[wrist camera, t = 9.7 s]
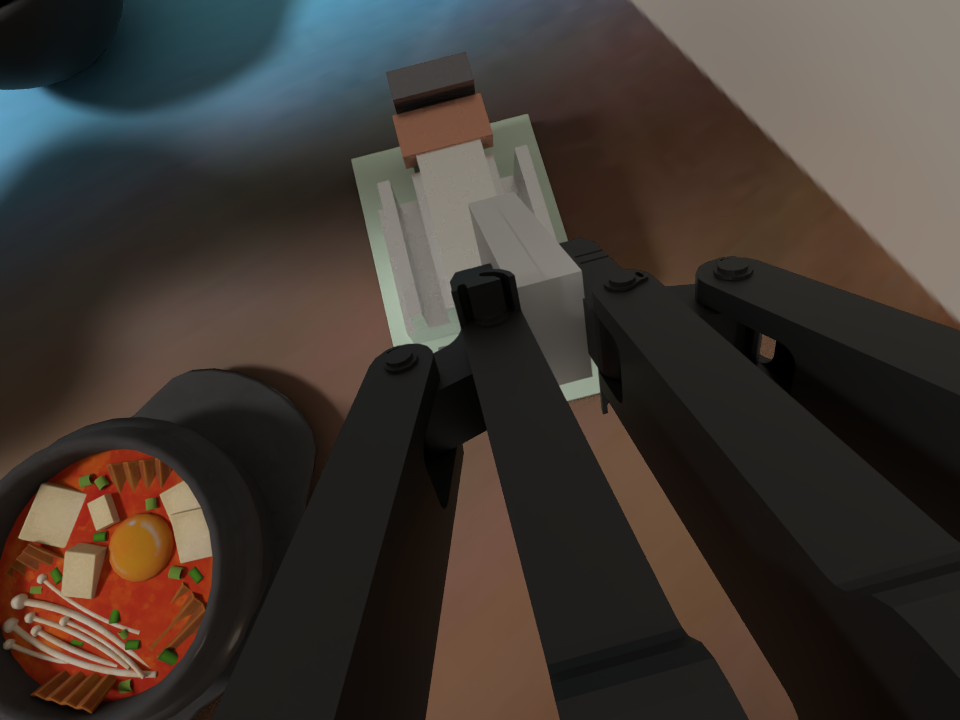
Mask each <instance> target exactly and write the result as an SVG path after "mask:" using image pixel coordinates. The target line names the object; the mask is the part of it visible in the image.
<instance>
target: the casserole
mask: <svg viewBox="0 0 960 720" xmlns="http://www.w3.org/2000/svg"><path fill="white" fill-rule="evenodd" d="M315 456H316V444H315V440H314V436H313V432H312V428H311V426H310V425H309V423H308V422H307V420H306V419H305V417H304V416H303V414H302V413H301V411H300V410H299V409H298V408H297V407H296V406H295V405H294V404H293V403H292V402H291V401H290V400H289V399H288V398H287V397H286V396H285V395H284V394H282V393H281V392H279V391H278V390H276V389H274V388H273V387H271V386H270V385H268V384H266V383H265V382H263V381H262V380H259V379H256V378H254V377H251V376H248V375H245V374H242V373H239V372H235V371H228V370H221V369H214V368H213V369H200V370H191V371H189V372H187V373H184V374H182V375H180V376H177V377H175V378H173V379H172V380H171V381H169V382H168V383H167V384H166V385H165V386H164V387H163V388H162V389H161V390H160V391H159V392H157V393H156V394H155V395H154V396H153V397H152V398H151V399H150V400H149V401H148V402H147V403H146V404H145V405H144V406H143V407H142V408H141V409H140V410H139V411H138V412H137V413H136V414H135V415H134V416H133V417H131V418H117V419H111V420H107V421H103V422H99V423H95V424H92V425H88V426H85V427H83V428H81V429H79V430H77V431H75V432H72V433H70V434H68V435H66V436H64V437H62V438H60V439H59V440H57V441H56V442H54V443H53V444H51V445H50V446H49V447H47V448H45V449H43V450H41V451H39V452H37V453H35V454H33V455H32V456H30V457H29V458H27V459H26V460H25V461H23V462H22V463H20V464H19V465H17V466H16V467H15V468H13V469H12V470H11V471H10V472H9V473H8V474H7V475H6V476H5V477H4V478H3V479H2V480H1V481H0V720H193V719H194V718H195V717H196V716H197V715H198V714H199V713H200V712H201V711H202V710H203V709H204V708H205V707H207V706H208V705H209V704H211V703H212V702H213V701H215V700H216V699H217V698H219V697H220V696H221V695H223V693H224V691H225V689H226V686H227V684H228V682H229V680H230V677H231V675H232V673H233V671H234V668H235V666H236V664H237V662H238V660H239V657H240V655H241V653H242V651H243V648H244V646H245V644H246V642H247V639H248V637H249V635H250V633H251V630H252V628H253V626H254V624H255V621H256V619H257V617H258V615H259V613H260V610H261V608H262V606H263V604H264V601H265V599H266V597H267V595H268V592H269V590H270V588H271V586H272V583H273V581H274V579H275V577H276V575H277V572H278V570H279V568H280V566H281V563H282V561H283V559H284V557H285V554H286V552H287V550H288V548H289V545H290V543H291V541H292V539H293V536H294V534H295V532H296V530H297V528H298V525H299V523H300V521H301V519H302V516H303V514H304V512H305V510H306V507H307V501H308V496H309V491H310V486H311V481H312V476H313V470H314V463H315Z"/></svg>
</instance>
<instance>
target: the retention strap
mask: <svg viewBox="0 0 960 720" xmlns="http://www.w3.org/2000/svg"><path fill="white" fill-rule="evenodd" d="M392 117H393V121H394V125H395V129H396V133H397V137H398V141H399V145H400V149H401V153H402V157H403V160H404V163H405V166H406V169H409V168H413V167H417V166H419V169H420V173H421V177H422V181H423V185H424V189H425V193H426V196H427V200H428V204H429V208H430V212H431V216H432V220H433V224H434V227H435V231H436V235H437V239H438V243H439V247H440V251H441V255H442V258H443V262H444V266H445V270H446V274H447V278H448V282H449V286H450V289H451V285H450V281H451V279H452V277H453V275H454V274H455V272H458V271H462V270H466V269H470V268H474V267H477V266H481V265H482V264H481V260H480V255H479V251H478V246H477V242H476V237H475V233H474V229H473V224H472V220H471V215H470V211H469V206H468V203H472V202H476V201H480V200H484V199H487V198H491V197H495V196H497V194H496V190H495V187H494V184H493V180H492V177H491V174H490V170H489V167H488V163H487V160H486V157H485V153H484V150H483V149H487V148H491V147H493V133H492V129H491V126H490V123H489V119H488V116H487V113H486V109H485V106H484V103H483V100H482V96H481V93H478V94H474V95H471V96H467V97H463V98H459V99H455V100H451V101H447V102H443V103H439V104H436V105H432V106H428V107H424V108H420V109H416V110H412V111H408V112H404V113H401V114H397V115H393V116H392ZM451 290H452V289H451ZM456 313H457V312H456ZM457 317H458V316H457ZM459 324H460V323H459ZM460 328H461V327H460Z"/></svg>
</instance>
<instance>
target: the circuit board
mask: <svg viewBox="0 0 960 720" xmlns="http://www.w3.org/2000/svg"><path fill="white" fill-rule="evenodd" d="M490 126H491V129H492V133H493V147H491V148H487V149H483V150H484V153H485V155H488V154H492V153H493V157H494V160H495V164H496V167H497V170H498V174H499V177H500V178H504V177H508V176H512V175H513V167H514V148H515V147H519V146H523V145H527V147H528V150H529V153H530V156H531V160H532V163H533V166H534V169H535V172H536V176H537V179H538V182H539V185H540V188H541V192H542V195H543V198H544V201H545V204H546V208H547V211H548V214H549V217H550V220H551V224H552V227H553V230H554V233H555V236H556V240H557V242H558V244H559V243H562V242H566V241H568V239H567V236H566V233H565V230H564V227H563V223H562V220H561V217H560V214H559V211H558V208H557V204H556V201H555V198H554V195H553V192H552V189H551V186H550V182H549V179H548V176H547V173H546V170H545V167H544V164H543V160H542V157H541V154H540V151H539V148H538V145H537V141H536V138H535V135H534V132H533V129H532V126H531V123H530V119H529V116H528V114H525V115H521V116H517V117H513V118H509V119H505V120H501V121H498V122H494V123H490ZM351 161H352V166H353V170H354V174H355V179H356V183H357V188H358V192H359V196H360V201H361V205H362V210H363V214H364V218H365V223H366V227H367V231H368V236H369V240H370V245H371V249H372V253H373V258H374V262H375V267H376V271H377V275H378V280H379V284H380V289H381V293H382V297H383V302H384V306H385V311H386V315H387V319H388V324H389V328H390V333H391V337H392V341H393V346H394V347H395V346H398V345H404V344H414V343H413V341H412V340H411V339H410V337H409V336H408V335H407V332H406V328H405V323H404V319H403V315H402V311H401V306H400V302H399V298H398V294H397V289H396V285H395V281H394V276H393V272H392V268H391V264H390V259H389V255H388V251H387V247H386V242H385V238H384V234H383V230H382V225H381V221H380V217H379V213H378V210H380V209H383V207H382V203H381V199H380V194H379V190H378V186H377V183H380V182H384V181H387V180H390V183H391V185H392V188H393V190H394V193H395V195H396V198H397V200H398V203H399V205H400V204H404V203H407V202H411V201H415V200H418V199H417V195H416V191H415V187H414V183H413V179H412V175H411V174H415V171H414V167H413V168H409V169H406V166H405V163H404V160H403V157H402V153H401V149H400V147H397V148H393V149H389V150H385V151H381V152H377V153H373V154H369V155H366V156H362V157H358V158H354V159H351ZM458 335H459V333H458V334H455V335H451V336H447V337H443V338H439V339H435V340H432V341H428V342H424V343H420V344H422V345H426V346H428V347H429V348H430V349H431V350H432V351H433V353H435V352H437V351H439V350H438V348H439V347H442V346H446V345H449V344H450V343H452V342H453V341H454V340H455V339H456V338H457V336H458ZM591 365H592V375H593V377H589V378H585V379H581V380H578V381H574V382H570V383H567V384H563V385H559V386H560V388H561V390H562V392H563V394H564V396H565V398H566V400H567V402H570V401H574V400H578V399H581V398H585V397H589V396H593V395H597V394H600V386H599V376H598V367H597V366H596V364H595V363H594V361H593V360H592V358H591Z"/></svg>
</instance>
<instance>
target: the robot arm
mask: <svg viewBox="0 0 960 720" xmlns="http://www.w3.org/2000/svg"><path fill="white" fill-rule="evenodd" d="M468 206H469V211H470V215H471V220H472V224H473V229H474V233H475V237H476V242H477V246H478V251H479V255H480V260H481V264H482V265H481V266H477V267H474V268H470V269H466V270H462V271H458V272H455V274H454V275H453V277H452V279H451V281H450V285H451V289H452V290H451V294H452V298H453V301H454V305H455V309H456V312H457V316H458V320H459V323H460V327H461V331H460V333H459V335H458V336H457V338H456V339H455V340H454V341H453V342H452V343H450V344H449V345H448V346H446V347H444V348H442V349H441V350H439V351H437V352H435V353H433V351H432V350H431V349H430V348H429V347H428V346H426V345H422V344H419V343H416V344H404V345H398V346H395V347H392V348H390V349H388V350H386V351H385V352H383V353H382V354H381V355H379V356H378V357H377V358H375V360H374V361H373V362H372V364H371V365H370V366H369V369H368V371H367V373H366V375H365V378H364V380H363V382H362V384H361V387H360V389H359V391H358V393H357V396H356V398H355V400H354V402H353V404H352V407H351V409H350V411H349V413H348V416H347V418H346V420H345V422H344V425H343V427H342V429H341V431H340V434H339V436H338V438H337V440H336V443H335V445H334V447H333V449H332V451H331V454H330V456H329V458H328V460H327V463H326V465H325V467H324V469H323V472H322V474H321V476H320V478H319V481H318V483H317V485H316V487H315V489H314V492H313V494H312V496H311V498H310V501H309V503H308V505H307V507H306V510H305V512H304V514H303V516H302V519H301V521H300V523H299V525H298V528H297V530H296V532H295V534H294V536H293V539H292V541H291V543H290V545H289V548H288V550H287V552H286V554H285V557H284V559H283V561H282V563H281V566H280V568H279V570H278V572H277V575H276V577H275V579H274V581H273V583H272V586H271V588H270V590H269V592H268V595H267V597H266V599H265V601H264V604H263V606H262V608H261V610H260V613H259V615H258V617H257V619H256V621H255V624H254V626H253V628H252V630H251V633H250V635H249V637H248V639H247V642H246V644H245V646H244V648H243V651H242V653H241V655H240V657H239V660H238V662H237V664H236V666H235V668H234V671H233V673H232V675H231V677H230V680H229V682H228V684H227V686H226V689H225V691H224V693H223V695H222V698H221V700H220V702H219V704H218V707H217V709H216V711H215V713H214V715H213V718H212V720H425V718H426V711H427V704H428V698H429V691H430V684H431V677H432V670H433V663H434V656H435V649H436V642H437V635H438V628H439V621H440V614H441V607H442V600H443V594H444V587H445V580H446V573H447V566H448V559H449V552H450V545H451V538H452V531H453V524H454V517H455V510H456V503H457V496H458V489H459V483H460V476H461V469H462V462H463V455H464V451H463V443H464V442H466V441H468V440H470V439H472V438H474V437H475V436H477V435H479V434H481V433H483V432H484V431H486V430H487V432H488V436H489V440H490V444H491V448H492V452H493V456H494V460H495V463H496V467H497V471H498V475H499V479H500V483H501V487H502V491H503V495H504V499H505V503H506V506H507V510H508V514H509V518H510V522H511V526H512V530H513V534H514V538H515V542H516V545H517V549H518V553H519V557H520V561H521V565H522V569H523V573H524V577H525V581H526V585H527V588H528V592H529V596H530V600H531V604H532V608H533V612H534V616H535V620H536V624H537V627H538V631H539V635H540V639H541V643H542V647H543V651H544V655H545V659H546V663H547V667H548V671H549V675H550V680H551V685H552V689H553V693H554V697H555V701H556V705H557V709H558V713H559V717H560V720H749V719H748V717H747V715H746V714H745V712H744V710H743V708H742V706H741V704H740V702H739V701H738V699H737V697H736V695H735V693H734V691H733V689H732V687H731V686H730V684H729V682H728V680H727V679H726V677H725V675H724V674H723V672H722V670H721V669H720V667H719V665H718V664H717V662H716V660H715V659H714V657H713V656H712V655H711V653H710V652H709V651H708V650H707V649H706V647H705V646H704V645H703V644H702V642H700V641H698V640H696V639H694V638H692V637H690V636H688V634H687V633H686V632H685V631H684V629H683V628H682V626H681V625H680V623H679V621H678V619H677V618H676V616H675V614H674V612H673V610H672V608H671V606H670V604H669V602H668V600H667V598H666V596H665V594H664V592H663V590H662V588H661V586H660V584H659V582H658V580H657V578H656V576H655V574H654V572H653V570H652V568H651V566H650V564H649V562H648V560H647V559H646V557H645V555H644V553H643V551H642V549H641V547H640V545H639V543H638V541H637V539H636V537H635V535H634V533H633V531H632V529H631V527H630V525H629V523H628V521H627V519H626V517H625V515H624V513H623V511H622V509H621V507H620V505H619V503H618V501H617V499H616V497H615V495H614V493H613V491H612V489H611V487H610V485H609V483H608V481H607V479H606V477H605V475H604V473H603V471H602V469H601V467H600V465H599V463H598V461H597V459H596V458H595V456H594V454H593V452H592V450H591V448H590V446H589V444H588V442H587V440H586V438H585V436H584V434H583V432H582V430H581V428H580V426H579V424H578V422H577V420H576V418H575V416H574V414H573V412H572V410H571V408H570V406H569V404H568V402H567V400H566V398H565V396H564V394H563V392H562V390H561V388H560V386H559V385H563V384H567V383H570V382H574V381H578V380H581V379H585V378H589V377H593V375H592V365H591V358H592V360H593V361H594V363H595V364H596V366H597V367H598V376H599V386H600V397H601V408H602V412H603V414H606V413H608V409H607V405H608V403H610V405H611V406H612V408H613V409H614V411H615V413H616V414H617V416H618V418H619V419H620V421H621V423H622V424H623V426H624V427H625V429H626V431H627V432H628V434H629V436H630V437H631V439H632V440H633V442H634V444H635V445H636V447H637V449H638V450H639V452H640V454H641V455H642V457H643V458H644V460H645V462H646V463H647V465H648V467H649V468H650V470H651V472H652V473H653V475H654V476H655V478H656V480H657V481H658V483H659V485H660V486H661V488H662V489H663V491H664V493H665V494H666V496H667V498H668V499H669V501H670V503H671V504H672V506H673V507H674V509H675V511H676V512H677V514H678V516H679V517H680V519H681V521H682V522H683V524H684V525H685V527H686V529H687V530H688V532H689V534H690V535H691V537H692V538H693V540H694V542H695V543H696V545H697V547H698V548H699V550H700V552H701V553H702V555H703V556H704V558H705V560H706V561H707V563H708V565H709V566H710V568H711V570H712V571H713V573H714V574H715V576H716V578H717V579H718V581H719V583H720V584H721V586H722V587H723V589H724V591H725V592H726V594H727V596H728V597H729V599H730V601H731V602H732V604H733V605H734V607H735V609H736V610H737V612H738V614H739V615H740V617H741V619H742V620H743V622H744V623H745V625H746V627H747V628H748V630H749V632H750V633H751V635H752V636H753V638H754V640H755V641H756V643H757V645H758V646H759V648H760V650H761V651H762V653H763V654H764V656H765V658H766V659H767V661H768V663H769V664H770V666H771V668H772V669H773V671H774V672H775V674H776V676H777V677H778V679H779V681H780V682H781V684H782V685H783V687H784V689H785V690H786V692H787V694H788V696H789V698H790V700H791V701H792V703H793V706H794V708H795V710H796V713H797V715H798V719H799V720H960V331H958V330H956V329H953V328H950V327H947V326H944V325H941V324H938V323H936V322H933V321H930V320H927V319H924V318H921V317H918V316H915V315H913V314H910V313H907V312H904V311H901V310H898V309H895V308H893V307H890V306H887V305H884V304H881V303H878V302H875V301H873V300H870V299H867V298H864V297H861V296H858V295H855V294H852V293H850V292H847V291H844V290H841V289H838V288H835V287H832V286H830V285H827V284H824V283H821V282H818V281H815V280H812V279H810V278H807V277H804V276H801V275H798V274H795V273H792V272H789V271H787V270H784V269H781V268H778V267H775V266H772V265H769V264H767V263H764V262H761V261H758V260H753V259H749V258H738V257H735V256H730V257H727V258H725V257H722V258H718V259H716V260H712V261H709V262H706V263H705V264H703V265H701V266H700V267H699V268H698V270H697V271H696V281H695V284H690V285H679V286H664V285H663V284H662V283H661V282H659V281H658V280H657V279H656V278H655V277H654V276H653V275H651V274H649V273H647V272H645V271H641V270H635V269H622V268H621V267H620V266H619V265H618V264H617V263H616V262H615V261H614V260H613V259H611V258H610V257H608V255H607V254H606V253H605V252H604V251H602V249H601V248H600V247H599V246H598V245H597V244H596V243H595V242H592V241H589V240H586V239H583V238H577V239H574V240H570V241H566V242H562V243H559V244H558V242H557V241H556V240H555V239H554V238H553V237H552V235H551V234H550V233H549V232H548V231H547V230H546V228H545V227H544V226H543V225H542V224H541V223H540V221H539V220H538V219H537V218H536V217H535V216H534V214H533V213H532V212H531V211H530V210H529V209H528V208H527V206H526V205H525V204H524V203H523V202H522V201H521V199H520V198H519V197H518V196H517V195H516V194H515V192H510V193H506V194H503V195H499V196H495V197H491V198H487V199H484V200H480V201H476V202H472V203H468ZM762 334H764V335H766V336H768V337H770V338H772V339H774V340H776V346H775V353H774V357H773V359H772V360H771V359H768V358H765V357H764V356H762V355H760V347H761V339H762Z"/></svg>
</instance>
